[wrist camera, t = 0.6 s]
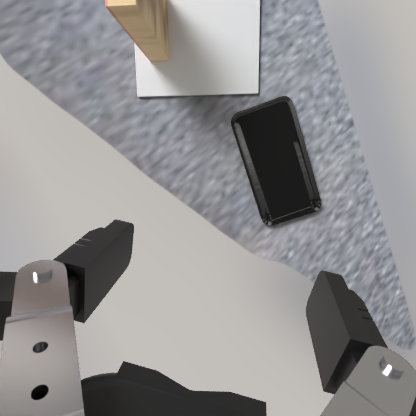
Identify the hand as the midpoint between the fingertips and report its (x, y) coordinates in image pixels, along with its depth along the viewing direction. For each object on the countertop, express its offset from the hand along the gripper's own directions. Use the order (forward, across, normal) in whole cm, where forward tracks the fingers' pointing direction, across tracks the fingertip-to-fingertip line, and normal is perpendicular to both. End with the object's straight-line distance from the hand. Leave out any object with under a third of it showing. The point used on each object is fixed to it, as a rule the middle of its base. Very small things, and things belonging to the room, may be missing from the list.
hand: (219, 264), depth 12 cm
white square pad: (+28, +9, -13) cm, 32 cm away
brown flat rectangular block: (+27, +13, -12) cm, 33 cm away
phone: (+27, -4, 0) cm, 27 cm away
